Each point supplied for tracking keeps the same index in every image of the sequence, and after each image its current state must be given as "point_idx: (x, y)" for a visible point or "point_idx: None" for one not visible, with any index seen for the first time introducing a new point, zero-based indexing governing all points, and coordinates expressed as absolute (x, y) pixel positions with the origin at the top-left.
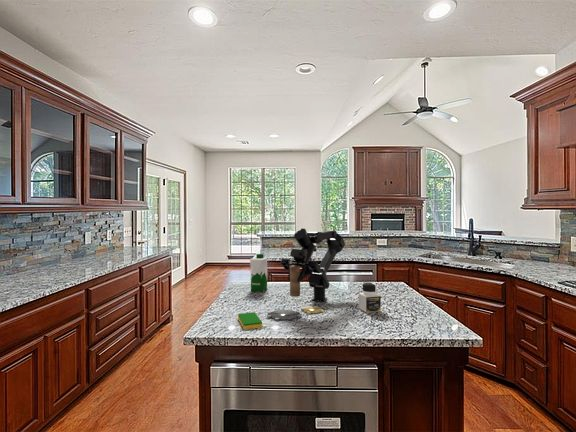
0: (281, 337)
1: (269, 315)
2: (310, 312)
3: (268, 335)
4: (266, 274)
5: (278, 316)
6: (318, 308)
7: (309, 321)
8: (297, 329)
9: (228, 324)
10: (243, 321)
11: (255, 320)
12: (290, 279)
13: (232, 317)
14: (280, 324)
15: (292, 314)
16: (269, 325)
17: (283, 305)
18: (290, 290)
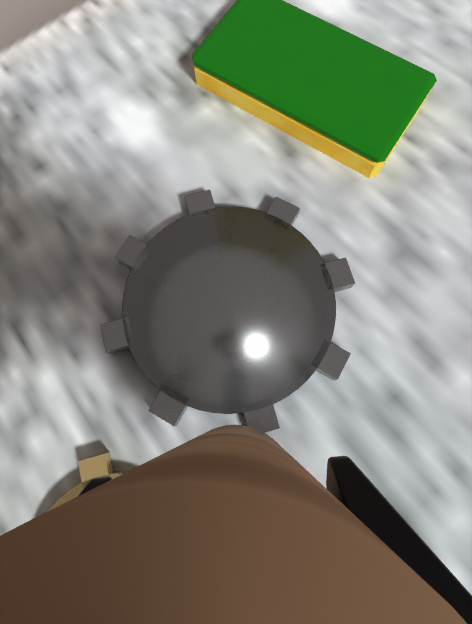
0: (18, 45)
1: (285, 217)
2: (79, 468)
3: (89, 28)
4: None
5: (219, 237)
6: None
7: (10, 321)
8: (5, 167)
9: (376, 11)
10: (287, 6)
11: (244, 54)
12: (270, 445)
13: (466, 91)
14: (137, 170)
15: (165, 331)
16: (180, 123)
17: (429, 536)
18: (264, 434)
